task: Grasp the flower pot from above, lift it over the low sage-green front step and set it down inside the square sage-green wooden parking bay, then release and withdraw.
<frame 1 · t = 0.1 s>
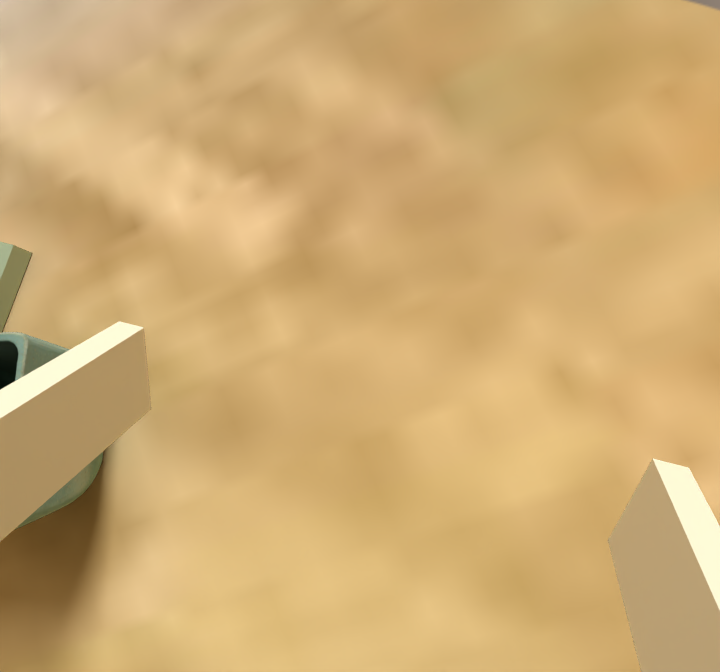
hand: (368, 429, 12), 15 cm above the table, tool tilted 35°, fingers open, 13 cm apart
flower pot: (72, 426, 30), on the table
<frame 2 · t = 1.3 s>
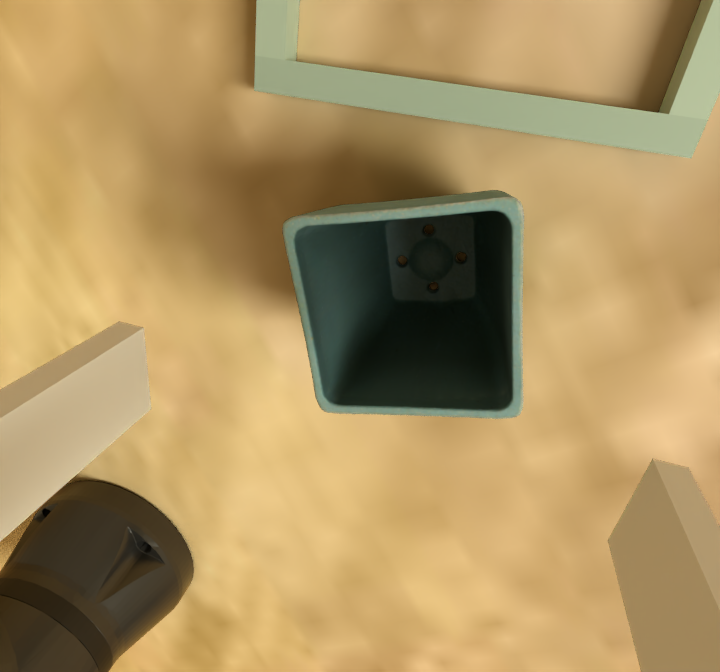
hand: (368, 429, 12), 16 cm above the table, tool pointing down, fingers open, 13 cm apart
flower pot: (430, 257, 26), on the table
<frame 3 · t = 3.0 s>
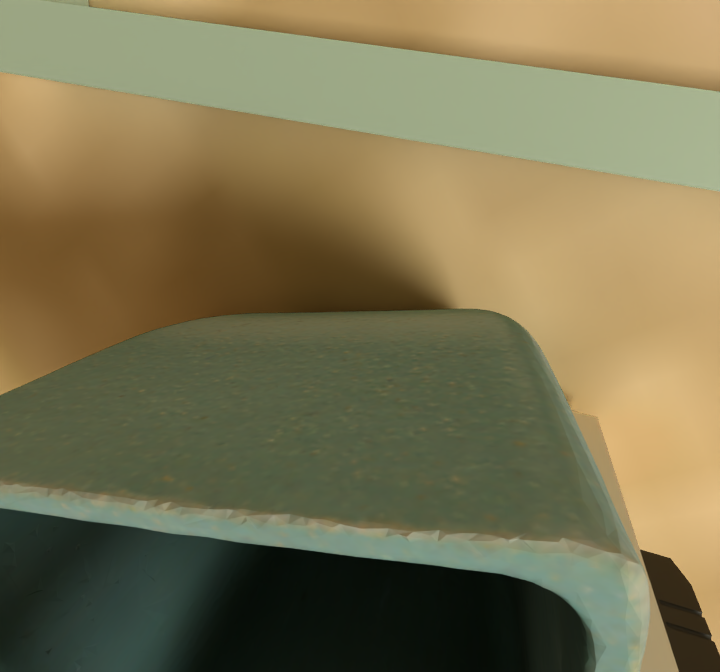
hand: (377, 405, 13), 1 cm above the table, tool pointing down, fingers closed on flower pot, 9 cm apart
flower pot: (381, 389, 14), on the table, touching gripper
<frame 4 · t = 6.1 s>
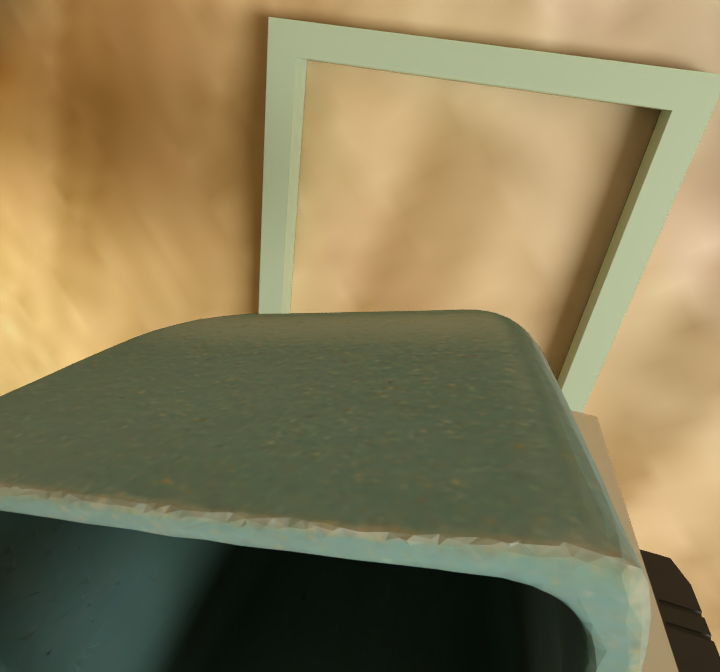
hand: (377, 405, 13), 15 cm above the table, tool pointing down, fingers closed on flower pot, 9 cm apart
flower pot: (381, 390, 14), point 15 cm above the table, touching gripper
bay: (437, 252, 27), on the table
when the fingers open (2 cm above the table, at t = 9.0 s): flower pot moves 2 cm, point 1 cm above the table.
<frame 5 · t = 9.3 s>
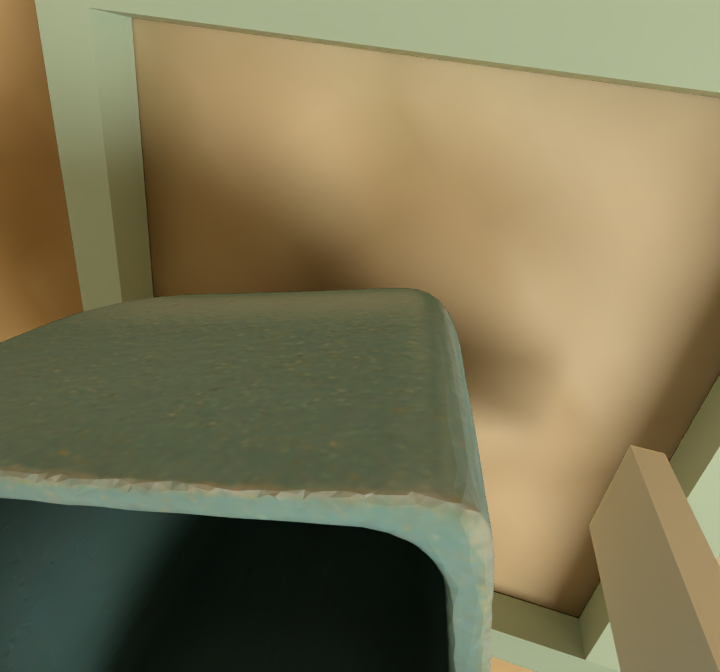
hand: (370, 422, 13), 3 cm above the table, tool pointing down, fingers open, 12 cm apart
flower pot: (326, 368, 14), point 1 cm above the table, touching gripper
bay: (393, 369, 15), on the table
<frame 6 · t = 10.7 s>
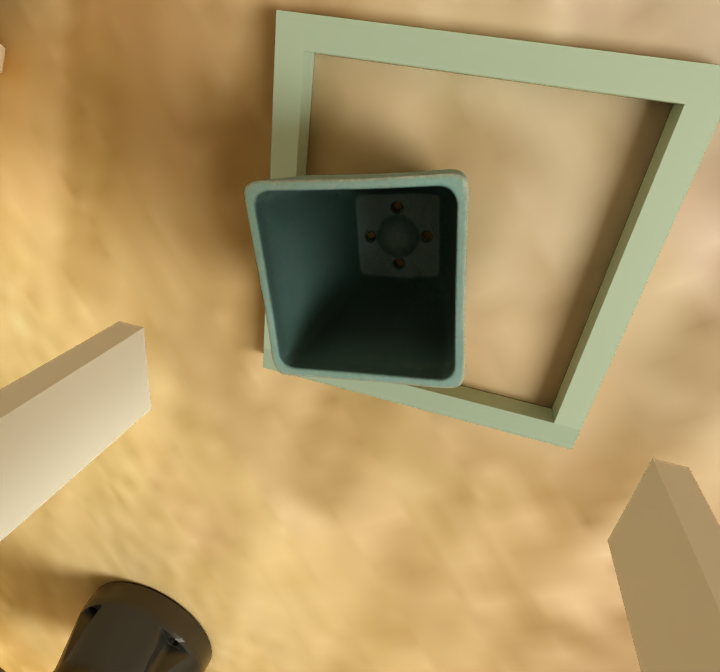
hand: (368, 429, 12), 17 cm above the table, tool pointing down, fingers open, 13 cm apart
flower pot: (398, 234, 27), resting in bay
bay: (444, 248, 27), on the table
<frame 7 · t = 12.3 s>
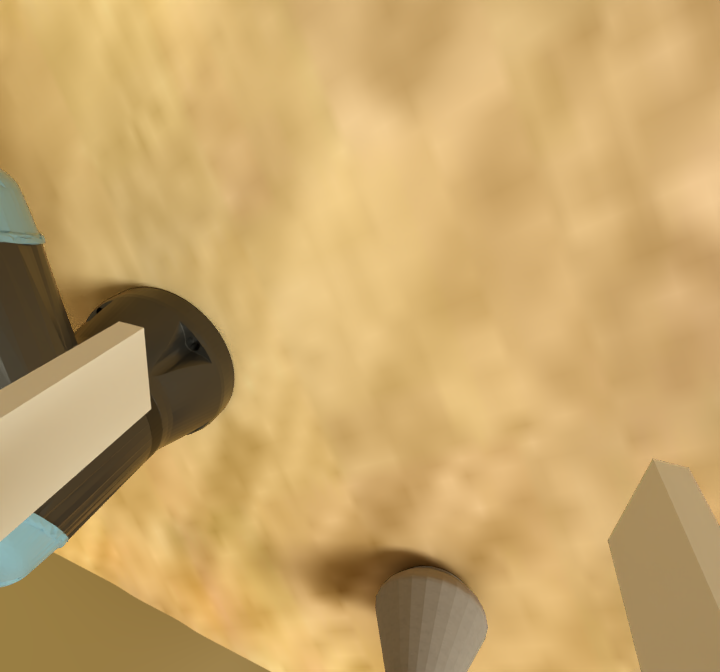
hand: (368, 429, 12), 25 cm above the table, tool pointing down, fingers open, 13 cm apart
coffee pot: (404, 605, 54), on the table
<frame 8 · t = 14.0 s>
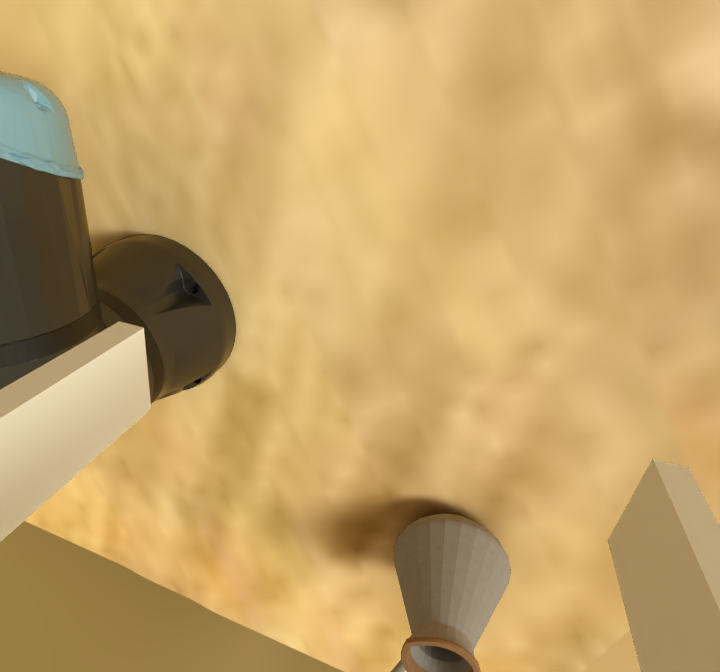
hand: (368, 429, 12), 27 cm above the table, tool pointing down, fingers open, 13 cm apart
coffee pot: (423, 559, 52), on the table
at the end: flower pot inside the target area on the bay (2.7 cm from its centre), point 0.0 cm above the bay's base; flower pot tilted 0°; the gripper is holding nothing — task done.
